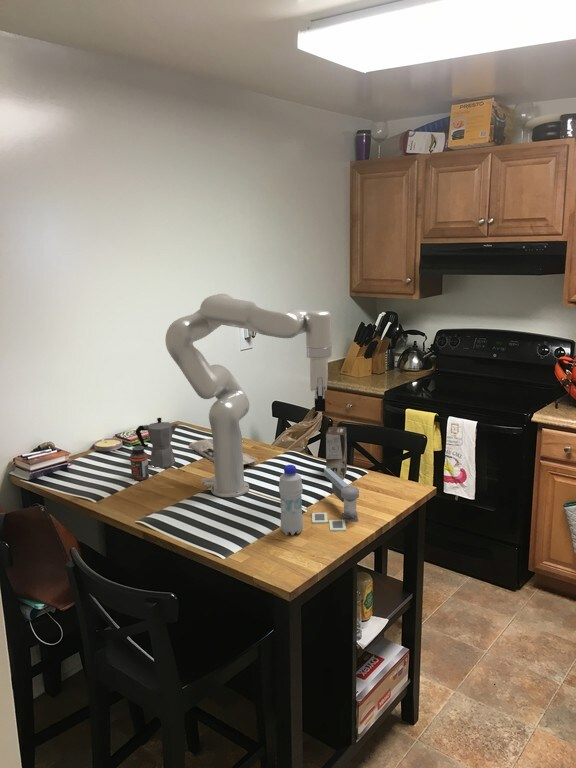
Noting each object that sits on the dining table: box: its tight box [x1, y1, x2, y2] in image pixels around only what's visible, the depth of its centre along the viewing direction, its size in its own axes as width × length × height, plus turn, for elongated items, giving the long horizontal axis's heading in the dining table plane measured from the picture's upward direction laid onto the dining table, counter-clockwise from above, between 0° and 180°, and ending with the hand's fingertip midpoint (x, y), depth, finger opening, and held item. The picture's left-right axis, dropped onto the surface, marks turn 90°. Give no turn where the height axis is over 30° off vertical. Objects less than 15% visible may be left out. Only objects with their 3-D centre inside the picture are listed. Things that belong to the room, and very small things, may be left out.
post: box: [341, 499, 359, 522], centre depth 183 cm, size 4×4×7 cm
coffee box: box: [325, 426, 348, 481], centre depth 215 cm, size 9×6×16 cm
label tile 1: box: [311, 512, 329, 524], centre depth 184 cm, size 4×6×1 cm
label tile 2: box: [328, 519, 347, 532], centre depth 179 cm, size 4×6×1 cm
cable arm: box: [323, 468, 360, 503], centre depth 189 cm, size 21×5×6 cm, turn 19°
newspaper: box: [188, 438, 258, 467], centre depth 238 cm, size 35×12×4 cm, turn 34°
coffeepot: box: [135, 417, 179, 469], centre depth 229 cm, size 15×9×18 cm, turn 103°
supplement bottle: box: [129, 445, 150, 481], centre depth 217 cm, size 6×6×11 cm
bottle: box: [278, 464, 304, 536], centre depth 174 cm, size 7×7×20 cm
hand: (320, 410), depth 191 cm, fingers closed
